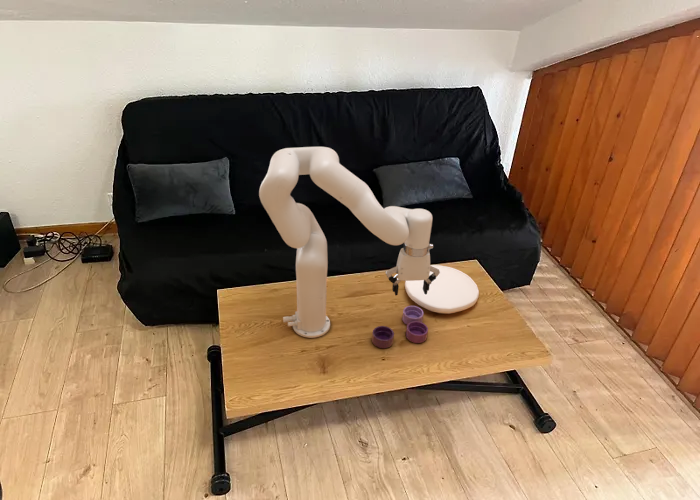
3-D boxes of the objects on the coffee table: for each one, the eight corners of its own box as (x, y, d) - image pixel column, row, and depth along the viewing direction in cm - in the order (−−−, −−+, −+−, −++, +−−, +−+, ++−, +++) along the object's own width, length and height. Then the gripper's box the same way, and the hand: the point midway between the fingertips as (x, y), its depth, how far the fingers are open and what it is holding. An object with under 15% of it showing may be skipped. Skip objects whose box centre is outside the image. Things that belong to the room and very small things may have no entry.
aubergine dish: (375, 350, 157) (376, 341, 155) (369, 336, 163) (370, 327, 161) (395, 347, 159) (396, 339, 157) (389, 333, 164) (390, 324, 162)
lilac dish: (406, 328, 167) (407, 319, 165) (399, 315, 172) (400, 306, 170) (425, 325, 168) (426, 317, 166) (418, 313, 174) (419, 304, 172)
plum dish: (409, 345, 160) (411, 336, 158) (402, 331, 165) (404, 322, 163) (429, 342, 161) (431, 333, 159) (422, 328, 167) (423, 320, 165)
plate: (429, 254, 197) (492, 281, 184) (426, 268, 200) (487, 295, 187) (392, 280, 176) (459, 311, 163) (389, 295, 179) (455, 327, 166)
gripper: (440, 240, 155) (433, 284, 164) (386, 242, 153) (382, 286, 162) (446, 253, 148) (439, 298, 158) (390, 255, 147) (385, 300, 156)
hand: (410, 292), depth 160 cm, fingers open, 9 cm apart
